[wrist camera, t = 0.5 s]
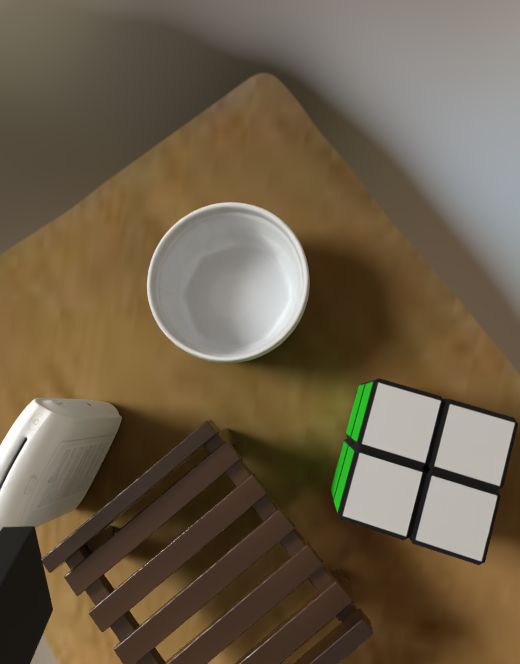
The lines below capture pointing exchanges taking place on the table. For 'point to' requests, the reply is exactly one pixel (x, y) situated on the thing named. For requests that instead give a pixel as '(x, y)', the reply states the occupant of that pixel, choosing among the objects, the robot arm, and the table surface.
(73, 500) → the photo printer
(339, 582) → the rack
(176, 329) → the ramekin
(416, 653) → the table surface
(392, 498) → the puzzle cube
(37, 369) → the table surface
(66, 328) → the table surface
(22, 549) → the robot arm
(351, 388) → the table surface
